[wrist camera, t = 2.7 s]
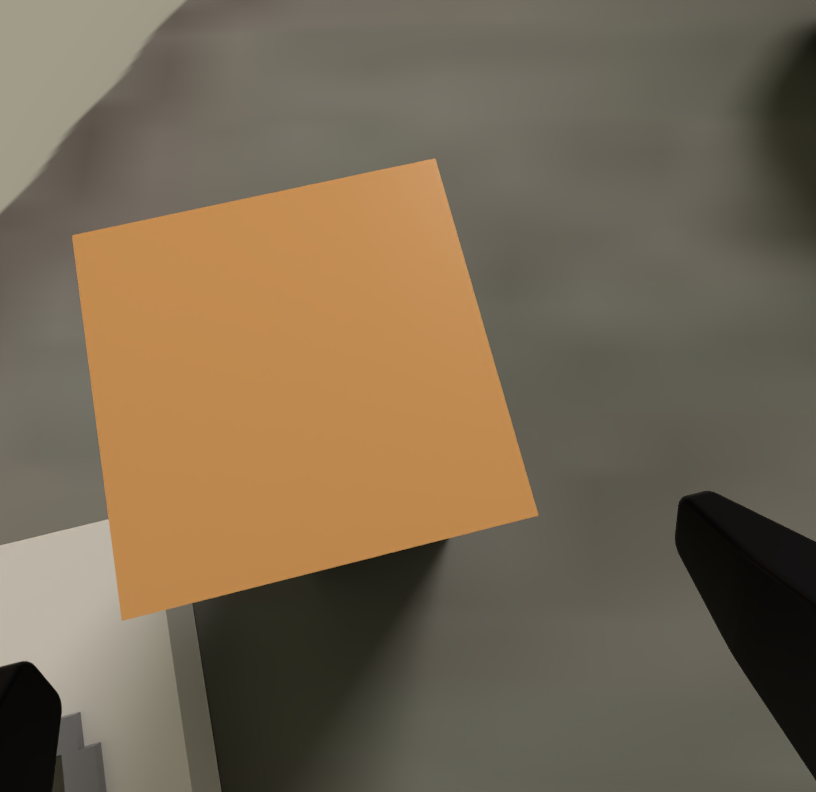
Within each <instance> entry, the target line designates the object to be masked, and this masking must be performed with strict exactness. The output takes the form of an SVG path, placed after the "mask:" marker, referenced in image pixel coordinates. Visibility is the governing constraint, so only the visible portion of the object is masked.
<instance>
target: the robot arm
mask: <svg viewBox="0 0 816 792" xmlns="http://www.w3.org/2000/svg"><path fill="white" fill-rule="evenodd" d="M675 544H676V547H677V550H678V553H679V555H680V557H681V559H682V561H683V563H684V565H685V567H686V569H687V570H688V572H689V574H690V576H691V578H692V580H693V582H694V584H695V586H696V588H697V589H698V591H699V593H700V595H701V597H702V599H703V601H704V603H705V605H706V607H707V608H708V610H709V612H710V614H711V616H712V618H713V620H714V622H715V624H716V625H717V627H718V629H719V631H720V633H721V635H722V637H723V639H724V640H725V642H726V644H727V646H728V648H729V649H730V651H731V653H732V655H733V656H734V658H735V659H736V661H737V662H738V664H739V666H740V667H741V669H742V670H743V672H744V673H745V675H746V676H747V678H748V679H749V681H750V682H751V684H752V685H753V687H754V688H755V690H756V691H757V693H758V694H759V696H760V697H761V699H762V700H763V702H764V703H765V705H766V706H767V708H768V709H769V711H770V712H771V714H772V715H773V717H774V718H775V720H776V721H777V723H778V724H779V726H780V727H781V729H782V730H783V732H784V733H785V735H786V736H787V738H788V739H789V741H790V742H791V744H792V745H793V747H794V748H795V750H796V751H797V753H798V754H799V756H800V757H801V759H802V760H803V762H804V763H805V765H806V766H807V768H808V769H809V771H810V772H811V774H812V775H813V777H814V778H815V780H816V542H815V541H813V540H811V539H809V538H807V537H805V536H803V535H801V534H799V533H797V532H795V531H793V530H791V529H789V528H787V527H784V526H782V525H780V524H778V523H776V522H774V521H772V520H770V519H768V518H766V517H764V516H762V515H760V514H758V513H756V512H754V511H752V510H750V509H748V508H746V507H744V506H742V505H740V504H738V503H735V502H733V501H731V500H729V499H727V498H725V497H723V496H721V495H719V494H717V493H715V492H711V491H703V492H699V493H695V494H691V495H687V496H684V497H682V498H681V500H680V501H679V505H678V513H677V522H676V531H675ZM61 715H62V704H61V699H60V697H59V694H58V693H57V691H56V690H55V689H54V688H53V686H52V685H51V684H50V683H49V682H48V680H47V679H46V678H45V677H44V676H43V674H42V673H41V672H40V671H39V670H38V668H37V667H36V666H35V665H34V664H33V663H31V662H28V661H21V662H17V663H13V664H9V665H5V666H1V667H0V792H52V788H53V780H54V772H55V764H56V756H57V748H58V739H59V731H60V723H61Z"/></svg>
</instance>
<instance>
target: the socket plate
mask: <svg viewBox="0 0 816 792" xmlns="http://www.w3.org/2000/svg"><path fill="white" fill-rule="evenodd" d="M21 661H28V662H31V663H33V664H34V665H35V666H36V667H37V668H38V670H39V671H40V672H41V673H42V674H43V676H44V677H45V678H46V679H47V680H48V682H49V683H50V684H51V685H52V686H53V688H54V689H55V690H56V691H57V693H58V694H59V697H60V699H61V704H62V715H61V723H60V731H59V739H58V748H57V756H59V755H61V757H62V767H63V777H64V786H65V792H222V791H221V785H220V778H219V772H218V766H217V759H216V753H215V746H214V740H213V734H212V727H211V721H210V714H209V708H208V701H207V695H206V689H205V682H204V676H203V669H202V663H201V656H200V650H199V644H198V637H197V631H196V624H195V618H194V611H193V605H192V603H191V604H187V605H183V606H179V607H175V608H171V609H167V610H163V611H159V612H155V613H151V614H147V615H143V616H139V617H135V618H131V619H127V620H123V621H122V619H121V611H120V603H119V595H118V588H117V580H116V572H115V564H114V557H113V549H112V541H111V533H110V525H109V519H108V520H104V521H100V522H96V523H91V524H87V525H83V526H79V527H75V528H71V529H67V530H63V531H58V532H54V533H50V534H46V535H42V536H38V537H34V538H30V539H25V540H21V541H17V542H13V543H9V544H5V545H1V546H0V667H1V666H5V665H9V664H13V663H17V662H21Z"/></svg>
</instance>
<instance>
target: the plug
mask: <svg viewBox="0 0 816 792" xmlns="http://www.w3.org/2000/svg"><path fill="white" fill-rule="evenodd" d="M72 238H73V246H74V254H75V262H76V269H77V277H78V285H79V293H80V300H81V308H82V316H83V324H84V331H85V339H86V347H87V355H88V362H89V370H90V378H91V386H92V393H93V401H94V409H95V417H96V425H97V432H98V440H99V448H100V456H101V463H102V471H103V479H104V487H105V494H106V502H107V510H108V518H109V525H110V533H111V541H112V549H113V557H114V564H115V572H116V580H117V588H118V595H119V603H120V611H121V619H122V621H123V620H127V619H131V618H135V617H139V616H143V615H147V614H151V613H155V612H159V611H163V610H167V609H171V608H175V607H179V606H183V605H187V604H191V603H195V602H199V601H203V600H207V599H210V598H214V597H218V596H222V595H226V594H230V593H234V592H238V591H242V590H246V589H250V588H254V587H258V586H262V585H266V584H270V583H274V582H278V581H282V580H286V579H290V578H294V577H298V576H301V575H305V574H309V573H313V572H317V571H321V570H325V569H329V568H333V567H337V566H341V565H345V564H349V563H353V562H357V561H361V560H365V559H369V558H373V557H377V556H381V555H385V554H388V553H392V552H396V551H400V550H404V549H408V548H412V547H416V546H420V545H424V544H428V543H432V542H436V541H440V540H444V539H448V538H452V537H456V536H460V535H464V534H468V533H472V532H475V531H479V530H483V529H487V528H491V527H495V526H499V525H503V524H507V523H511V522H515V521H519V520H523V519H527V518H531V517H535V516H539V515H538V512H537V508H536V505H535V502H534V498H533V495H532V491H531V488H530V484H529V481H528V477H527V474H526V470H525V467H524V463H523V460H522V457H521V453H520V450H519V446H518V443H517V439H516V436H515V432H514V429H513V425H512V422H511V419H510V415H509V412H508V408H507V405H506V401H505V398H504V394H503V391H502V387H501V384H500V381H499V377H498V374H497V370H496V367H495V363H494V360H493V356H492V353H491V349H490V346H489V343H488V339H487V336H486V332H485V329H484V325H483V322H482V318H481V315H480V311H479V308H478V304H477V301H476V298H475V294H474V291H473V287H472V284H471V280H470V277H469V273H468V270H467V266H466V263H465V260H464V256H463V253H462V249H461V246H460V242H459V239H458V235H457V232H456V228H455V225H454V222H453V218H452V215H451V211H450V208H449V204H448V201H447V197H446V194H445V190H444V187H443V184H442V180H441V177H440V173H439V170H438V166H437V163H436V159H430V160H425V161H420V162H416V163H411V164H406V165H402V166H397V167H392V168H387V169H383V170H378V171H373V172H369V173H364V174H359V175H354V176H350V177H345V178H340V179H336V180H331V181H326V182H322V183H317V184H312V185H307V186H303V187H298V188H293V189H289V190H284V191H279V192H274V193H270V194H265V195H260V196H256V197H251V198H246V199H241V200H237V201H232V202H227V203H223V204H218V205H213V206H208V207H204V208H199V209H194V210H190V211H185V212H180V213H176V214H171V215H166V216H161V217H157V218H152V219H147V220H143V221H138V222H133V223H128V224H124V225H119V226H114V227H110V228H105V229H100V230H95V231H91V232H86V233H81V234H77V235H72Z"/></svg>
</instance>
